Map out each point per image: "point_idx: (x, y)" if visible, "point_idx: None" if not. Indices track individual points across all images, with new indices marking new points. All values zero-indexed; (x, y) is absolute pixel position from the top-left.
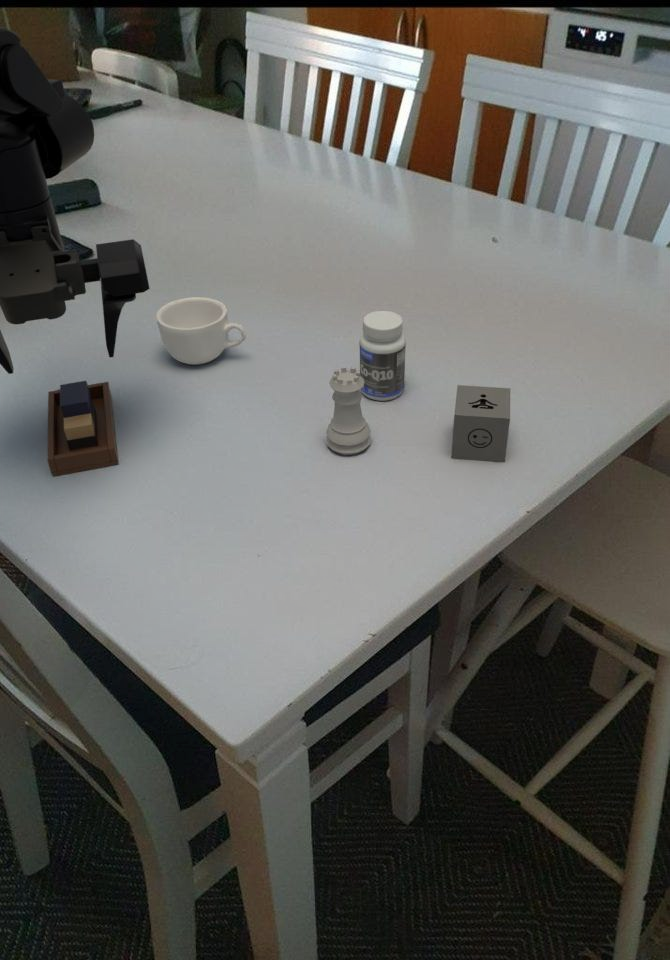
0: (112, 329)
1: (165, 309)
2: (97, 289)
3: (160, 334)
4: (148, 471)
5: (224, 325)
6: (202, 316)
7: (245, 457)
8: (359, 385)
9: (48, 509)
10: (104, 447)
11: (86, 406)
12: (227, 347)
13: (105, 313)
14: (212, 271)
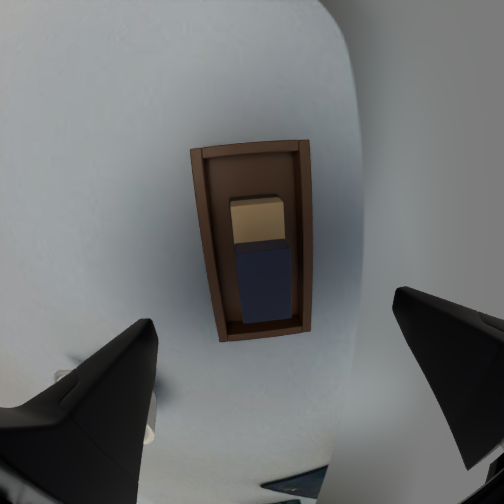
0: (87, 369)
1: (146, 437)
2: (254, 464)
3: (153, 408)
4: (147, 125)
5: None
6: None
7: (34, 151)
8: None
9: (299, 67)
10: (207, 153)
11: (239, 249)
12: None
13: (62, 416)
14: (153, 464)
